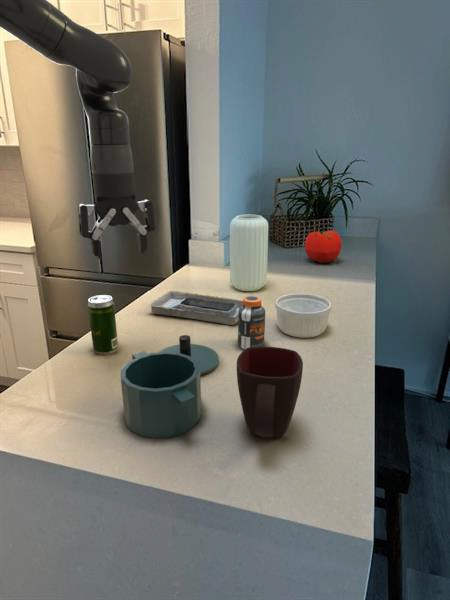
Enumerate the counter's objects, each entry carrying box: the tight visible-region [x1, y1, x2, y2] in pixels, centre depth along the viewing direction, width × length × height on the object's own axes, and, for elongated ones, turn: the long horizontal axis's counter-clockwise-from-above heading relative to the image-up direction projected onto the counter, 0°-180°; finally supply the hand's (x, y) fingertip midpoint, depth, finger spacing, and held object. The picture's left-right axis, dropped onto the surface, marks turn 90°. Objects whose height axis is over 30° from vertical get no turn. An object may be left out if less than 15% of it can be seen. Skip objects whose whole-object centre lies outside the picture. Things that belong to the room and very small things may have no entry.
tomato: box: [304, 229, 342, 264], centre depth 162 cm, size 13×14×12 cm
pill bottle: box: [237, 295, 266, 350], centre depth 95 cm, size 6×6×11 cm
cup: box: [236, 346, 304, 440], centre depth 65 cm, size 10×14×12 cm
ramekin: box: [274, 292, 332, 339], centre depth 104 cm, size 13×13×7 cm
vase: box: [229, 213, 269, 292], centre depth 131 cm, size 12×12×22 cm
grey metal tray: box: [148, 290, 243, 326], centre depth 115 cm, size 13×25×3 cm, turn 71°
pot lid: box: [157, 334, 219, 376], centre depth 88 cm, size 14×14×6 cm
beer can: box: [87, 294, 119, 356], centre depth 93 cm, size 5×5×12 cm
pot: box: [120, 351, 202, 439], centre depth 71 cm, size 13×18×8 cm
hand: (120, 255), depth 86 cm, fingers open, 8 cm apart
